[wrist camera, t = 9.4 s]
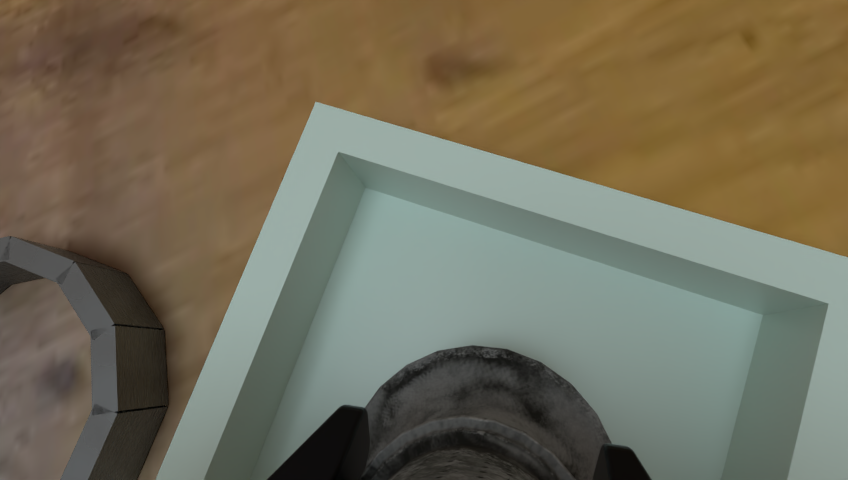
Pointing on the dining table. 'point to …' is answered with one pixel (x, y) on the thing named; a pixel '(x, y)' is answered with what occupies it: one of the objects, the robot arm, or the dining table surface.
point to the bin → (521, 310)
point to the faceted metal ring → (104, 356)
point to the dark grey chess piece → (481, 421)
